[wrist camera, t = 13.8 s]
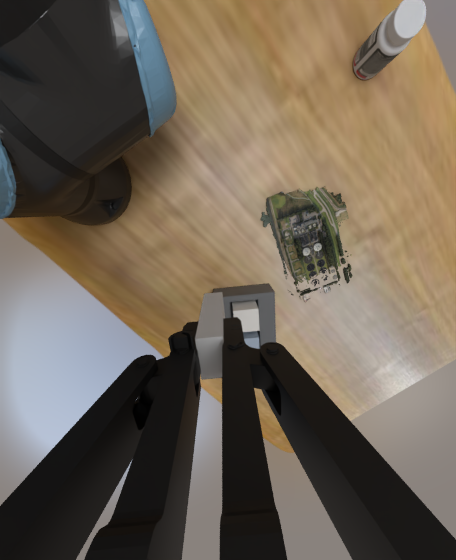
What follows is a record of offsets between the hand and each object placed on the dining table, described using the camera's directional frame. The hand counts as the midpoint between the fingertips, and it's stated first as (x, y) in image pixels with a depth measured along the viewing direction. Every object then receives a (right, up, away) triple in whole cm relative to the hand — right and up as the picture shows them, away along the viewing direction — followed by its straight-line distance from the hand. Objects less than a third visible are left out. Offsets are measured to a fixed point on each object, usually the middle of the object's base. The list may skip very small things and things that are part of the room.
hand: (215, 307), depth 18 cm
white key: (+4, -4, +25) cm, 26 cm away
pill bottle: (+24, +38, +16) cm, 47 cm away
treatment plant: (+18, +10, +26) cm, 33 cm away
